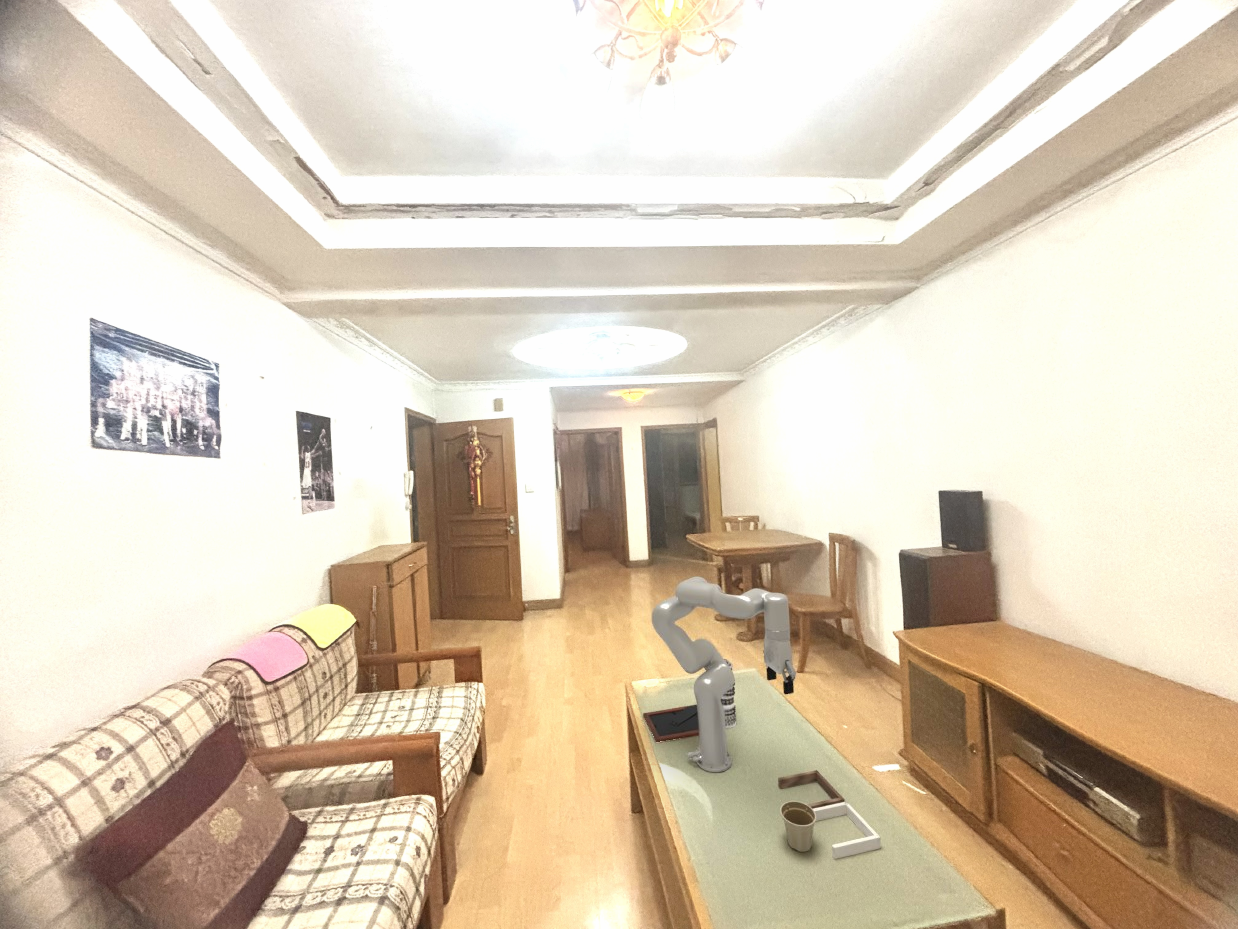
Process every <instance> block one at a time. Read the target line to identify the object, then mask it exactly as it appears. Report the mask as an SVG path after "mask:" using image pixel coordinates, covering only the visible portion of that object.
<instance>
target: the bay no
mask: <svg viewBox="0 0 1238 929" xmlns="http://www.w3.org/2000/svg"><path fill="white" fill-rule="evenodd" d="M777 780H778V781H777V782H778V783H777V784H778V788H779V790H782V789H786V788H792V787H796V786H801V785H802V786H803V785H806V784H811V783H812V784H813V783H817V784H818V785H819V786H820V787H821V788H822V790H824V791H825V793H826V794H827V795H828V796H829V797H830V798H831V799H827V800H826V799H825V800H823V801H818V802H812V803H808V804H807V803H806V804H807V805H809V806H810V807H811V808H812V809H814V808H819V807H824V806H828V805H833V804H837V803H842V802H846V801H845V798H844V797H843V796H842V795H841V794H840V793H839V792H838V790H837V789H836V788H834V786H833V785H832V784H831V783H829V781H828V780H827V779H826V778H825V777H824V776H823V775H822V774H821V773H820V772H819V770H817V769H816V770H811V771H806V772H800V773H796V774H791V775H786V776H780V777H778V778H777Z"/></svg>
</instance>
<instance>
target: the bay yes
mask: <svg viewBox="0 0 1238 929" xmlns="http://www.w3.org/2000/svg"><path fill="white" fill-rule="evenodd" d="M813 810H814V812H815V813H816V821H815V822H817V821H818V822H819V821H824V820H827V819H832V818H837V817H841V816H845V815H846V816H847V817H848V818H849V819H850V820H851V821H852V822H853V823H854V824H855V825H856V827H857V828H858V829H859V830H860V832H862V834H864V836H865V837H862V838H857V839H852V840H848V841H844V842H839V843H834V844H832V845H831V854H832V858H833V859H834V860H837V859H840V858H845V857H850V856H853V855H857V854H862V853H866V852H870V851H874V850H879V849H881V848H882V846H881V844H882V842H881V836H880V835H879V834H878V833H877V832H876V831H875V830H874V829H873V828H872V827H871V826H870V825H869V824H868V823H867V821H866V820H865V819H864V818H863V817H862V816H861V815H860V814H859V813H858V812H857V811H856V810H855V809H854V807H853V806H852V805H851V804H850V803H849V802H848V801H845V802H842V803H837V804H833V805H828V806H824V807H819V808H814V809H813Z"/></svg>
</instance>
